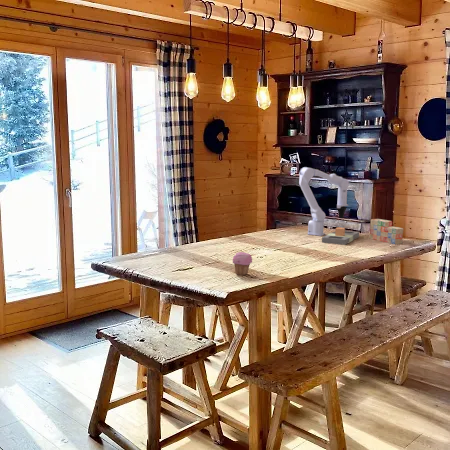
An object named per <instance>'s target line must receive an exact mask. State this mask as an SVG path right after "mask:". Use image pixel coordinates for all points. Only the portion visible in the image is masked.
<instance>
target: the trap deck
mask: <svg viewBox="0 0 450 450" xmlns="http://www.w3.org/2000/svg"><path fill="white" fill-rule="evenodd" d="M358 238H360V231H353V230H352V231H351V230H345V235H344V236H335V231H333V232H329V234H325V236H324V235H323V236H322V237H321V243H324V244H332V245H333V244H335V245H343V246H346V245H348V244H349V243H351V242H353V241H354V240H356V239H358Z"/></svg>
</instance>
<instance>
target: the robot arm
mask: <svg viewBox="0 0 450 450" xmlns="http://www.w3.org/2000/svg"><path fill="white" fill-rule="evenodd" d="M298 175H299V178H298V179H299V181H298V184H299V187H300V189H301V191H302V193H303V196H304V197H305V199H306V201H307V204H308V206H309V207H310V214H311V218H312V220H311V219H310V220H309V221H308V225H307V235H313V236H320V237H321V236H322V237H323V236H324V235H326V232H324V227H325V225H324V224H325V219H326V213H325V211H323V209H322V207H320V206H319V204H318V202H317V200H316V198H315V195H314V193H313V191H312V189H311V188H310V185H309V183H310V181H311V180H312V178H313V177H320V178H323V179H324V180H327V182H328V183H330V184H333V185H335V186H337V187H338V189H337V204H336V210H337V212H338V218H339V219H343V218H345V217H344V216H345V213H346V210H347V208H348V207H347V206H349V204H347V199H348V188H349V186H350V182H349V179H346V178H343V176H339V175H337V174H336V173H329V174H328V173H326V172H324V171H321V170H319V169H317V168H316V169H315V168H312V167H307V166H304V167H302V168H300V170H299V173H298Z"/></svg>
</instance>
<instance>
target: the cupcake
mask: <svg viewBox="0 0 450 450" xmlns="http://www.w3.org/2000/svg"><path fill="white" fill-rule="evenodd" d="M252 263H253V257H252V255H251V253H250V254H249V253H247V252H243V251H240V252H236V253H235V255H234V256H233V257H232V264H234V272H235V274H236V275H238V276H245V275H247V274H248V273H249V269H250V266H251V265H250V264H252Z"/></svg>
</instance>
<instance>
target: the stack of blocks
mask: <svg viewBox="0 0 450 450" xmlns="http://www.w3.org/2000/svg"><path fill="white" fill-rule="evenodd" d="M369 229H370V230H369V239H372V240H375V241H380V242H383V243H387V244H388V243H389V244H393V245H399V244H401V245H402V244H403V237H404V228H403V227H399V226H393V221H392V220H387V219H381V218H372V219H370V228H369Z"/></svg>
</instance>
